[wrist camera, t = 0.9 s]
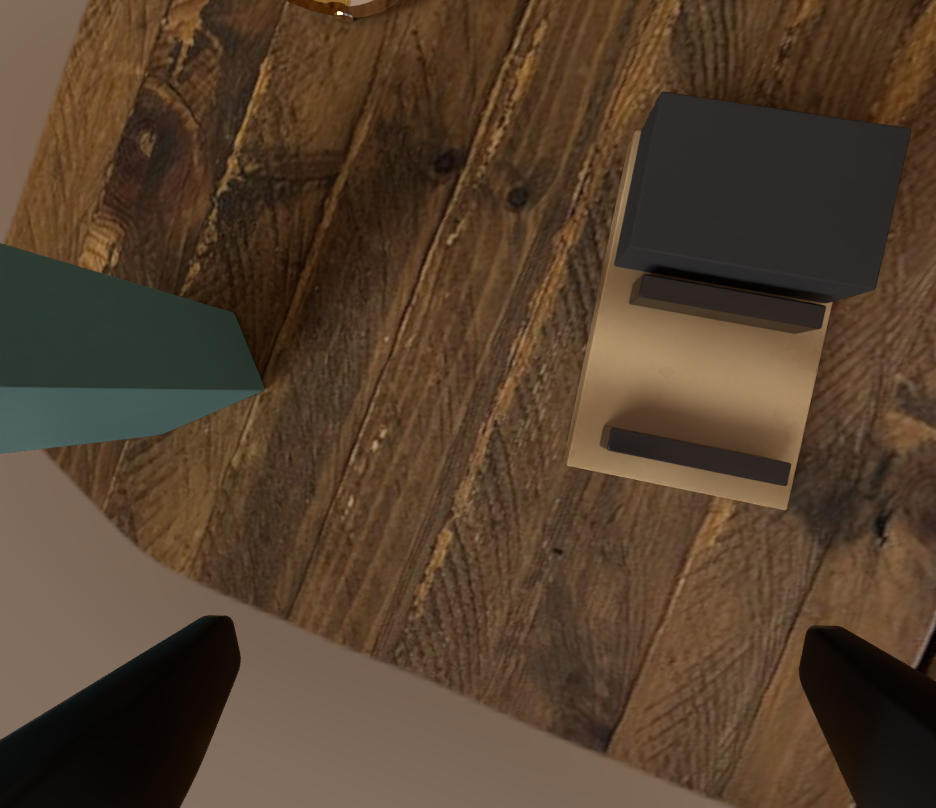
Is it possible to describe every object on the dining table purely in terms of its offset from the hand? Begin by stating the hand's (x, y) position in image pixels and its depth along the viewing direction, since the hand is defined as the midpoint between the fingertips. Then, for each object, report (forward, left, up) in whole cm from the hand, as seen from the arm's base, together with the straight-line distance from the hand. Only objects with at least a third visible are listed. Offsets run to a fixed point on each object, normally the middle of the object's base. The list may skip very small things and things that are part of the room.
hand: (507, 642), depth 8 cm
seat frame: (+8, -6, -12) cm, 16 cm away
